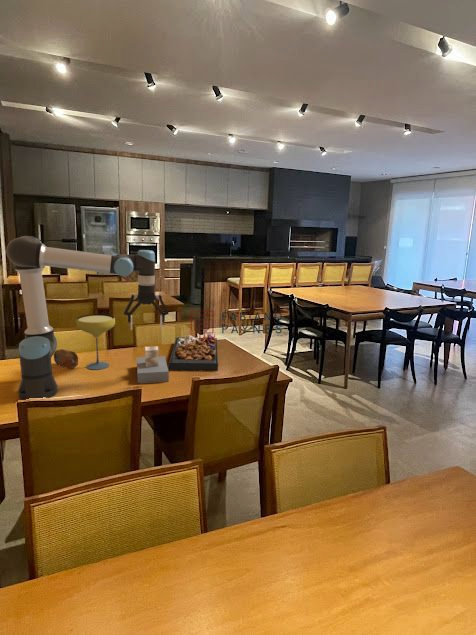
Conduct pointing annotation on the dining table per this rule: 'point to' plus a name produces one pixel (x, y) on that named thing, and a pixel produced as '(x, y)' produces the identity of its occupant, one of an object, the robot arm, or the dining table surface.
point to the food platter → (194, 353)
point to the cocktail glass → (96, 332)
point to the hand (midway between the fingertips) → (146, 329)
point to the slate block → (152, 371)
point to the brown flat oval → (66, 358)
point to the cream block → (151, 356)
